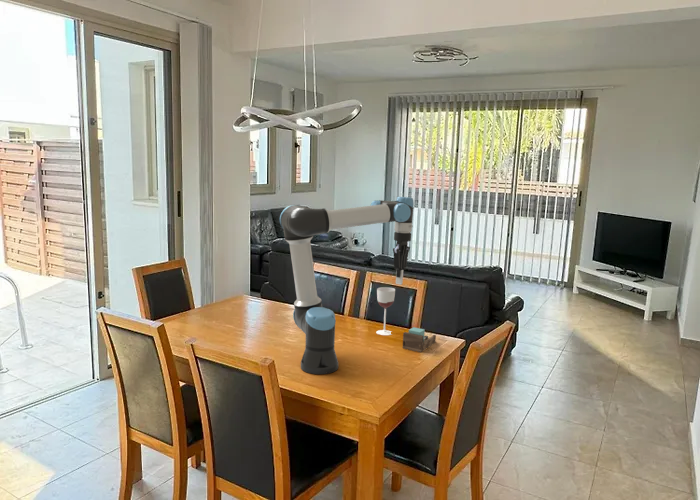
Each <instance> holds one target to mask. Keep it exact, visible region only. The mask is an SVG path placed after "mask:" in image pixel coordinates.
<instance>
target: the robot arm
mask: <svg viewBox="0 0 700 500" xmlns="http://www.w3.org/2000/svg"><path fill="white" fill-rule="evenodd" d="M414 200H415V199H414V198H413V197H409V196H397V197H396V200H383V199H382V200H380V199H379V200H372V201H371V204H370V205H366V206H365V205H364V206H357V207H356V206H355V207H348V208H341V209H340V208H339V209H331V210H330V209H329V210H328V209H326V208H311V207H306V206H303V205H300V204H291V205H289V206H286V207H284V209H283V210H282V212H281V213H280V215H279V224H280V227H281V228H282V229H283V234H284V235H283V236H284V240H285V241H286V242H287V244H289V251H290V257H291V258H290V259H291V264H292V265H291V266H292V273H293V279H294V287H295V288H294V289H295V294H296V300H295V301H294V303H293V305H294V306H293V307H294V309H293V313H292V315H293V317H292V318H293V320H294V324H295V326H297V328H299V329H300V330H301V331H302V332H303V333H304V335H305V347H304V351H303V355H302V357H301V361H300V369H301V370H302V371H303V372H305V373H308V374H314V375H328V374H331V373H333V372H336V371H337V370H338V369H339V360H338V357H337V354H336V350H335V338H336V314H335V312H334V311H333V310H332V309H329V308H326V307H323V303H322V301H323V300H322V298H320V297H319V295H318V292H317V285H316V278H315V277H316V276H315V268H314V259H313V253H312V244H311V240H313V238H314V236H316V235H323V234H328V233H329V232H330V231H331V230H338V229H339V230H340V229H346V228H347V229H348V228H353V227H361V226H369V225H377V224H384V223H391V222H392V223H393V222H394V233H393V240H394V241H396V244H395V248H394V247H393V248H392V252H393V268H394V270H396V272H395V273H396V275H395V284H396V285H400V286H401V285H403V281H404V271H406V270H407V269H406V268H407V264H408V257H409V253H410V249H411V246H408V245H409V242H411V241H412V228H413V218H414V215H413V214H414V203H415V202H414Z"/></svg>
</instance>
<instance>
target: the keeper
mask: <svg viewBox="0 0 700 500" xmlns="http://www.w3.org/2000/svg"><path fill="white" fill-rule="evenodd" d="M425 330H426V329H424V328H419V327H414V326H413V327H412V328H410V329H409V330H408V333H412V334H417V335H422V336H425V334H426V333H425V332H426V331H425ZM423 342H424V338H423Z"/></svg>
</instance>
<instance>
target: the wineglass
mask: <svg viewBox="0 0 700 500" xmlns="http://www.w3.org/2000/svg"><path fill="white" fill-rule="evenodd" d="M395 295H396V288H394V287H388V286H383V287H378V288H376V297H377V298H376V299H377V303H378V305H379V306H380V307H382V308H383V309H384V314H383V329H379V330H377V331H376V332H375V333H376V334H377V335H381V336H391V335H392V334H391V332H392V331H391V330H387V329H386V325H387V324H386V323H387V322H386V321H387V319H386V318H387V309H388V308H389V307H392V305H393V304H394V302H395Z"/></svg>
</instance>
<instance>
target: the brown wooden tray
mask: <svg viewBox="0 0 700 500" xmlns="http://www.w3.org/2000/svg"><path fill="white" fill-rule="evenodd" d="M436 335H437V334H436ZM436 335H435V334H433V335H432V336H430V337H429V336H428V335H424V336H422V335H417V334H412V333H409V331H408V332H407V331H404V332H403V335H402V349H404V350H407V349H408V351H413V352H416V351H417V352H418V353H423V352H424V351H425V350H427V349H428V348H429V346H430V347H431V346H433V345H434V344H436V341H437V340H436V339H437V338H436V337H437V336H436ZM423 338H424V342H423ZM432 344H433V345H432ZM426 348H427V349H426ZM417 352H416V353H417Z"/></svg>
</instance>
